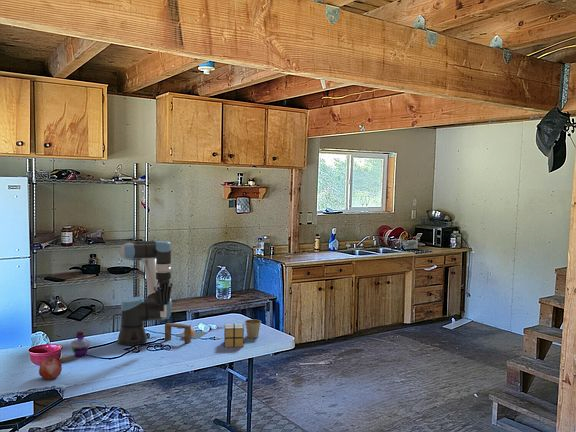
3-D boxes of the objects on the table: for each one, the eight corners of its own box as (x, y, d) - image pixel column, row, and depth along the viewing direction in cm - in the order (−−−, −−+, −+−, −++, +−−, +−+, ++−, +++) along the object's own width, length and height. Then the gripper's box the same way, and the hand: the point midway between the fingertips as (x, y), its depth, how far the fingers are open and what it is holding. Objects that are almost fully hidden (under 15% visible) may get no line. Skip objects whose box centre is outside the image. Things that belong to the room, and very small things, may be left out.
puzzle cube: (224, 341, 275) (224, 323, 275) (243, 341, 277) (243, 323, 276) (224, 347, 266) (224, 328, 265) (243, 347, 267) (243, 328, 266)
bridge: (187, 343, 271) (187, 326, 270) (164, 340, 276) (164, 323, 275) (190, 342, 273) (190, 325, 273) (168, 339, 279) (168, 322, 278)
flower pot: (260, 339, 281) (260, 323, 280) (243, 338, 281) (243, 323, 281) (261, 334, 290) (261, 319, 290) (245, 334, 290) (245, 319, 290)
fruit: (49, 373, 226) (48, 350, 225) (66, 375, 223) (66, 353, 222) (33, 380, 217) (32, 357, 216) (51, 383, 214) (51, 359, 214)
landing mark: (175, 336, 284) (175, 335, 284) (188, 330, 296) (188, 330, 296) (195, 339, 279) (195, 338, 279) (207, 333, 291) (207, 332, 291)
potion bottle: (67, 356, 247) (66, 332, 246) (80, 351, 255) (80, 328, 254) (80, 359, 244) (80, 334, 243) (93, 354, 252) (93, 330, 251)
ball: (186, 324, 285) (188, 332, 287) (180, 330, 280) (183, 338, 283) (194, 326, 282) (196, 333, 285) (188, 332, 278) (191, 340, 280)
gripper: (162, 274, 253) (161, 320, 254) (176, 270, 265) (176, 314, 266) (149, 272, 256) (149, 319, 257) (164, 269, 268) (164, 313, 269)
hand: (163, 317), depth 262 cm, fingers closed
